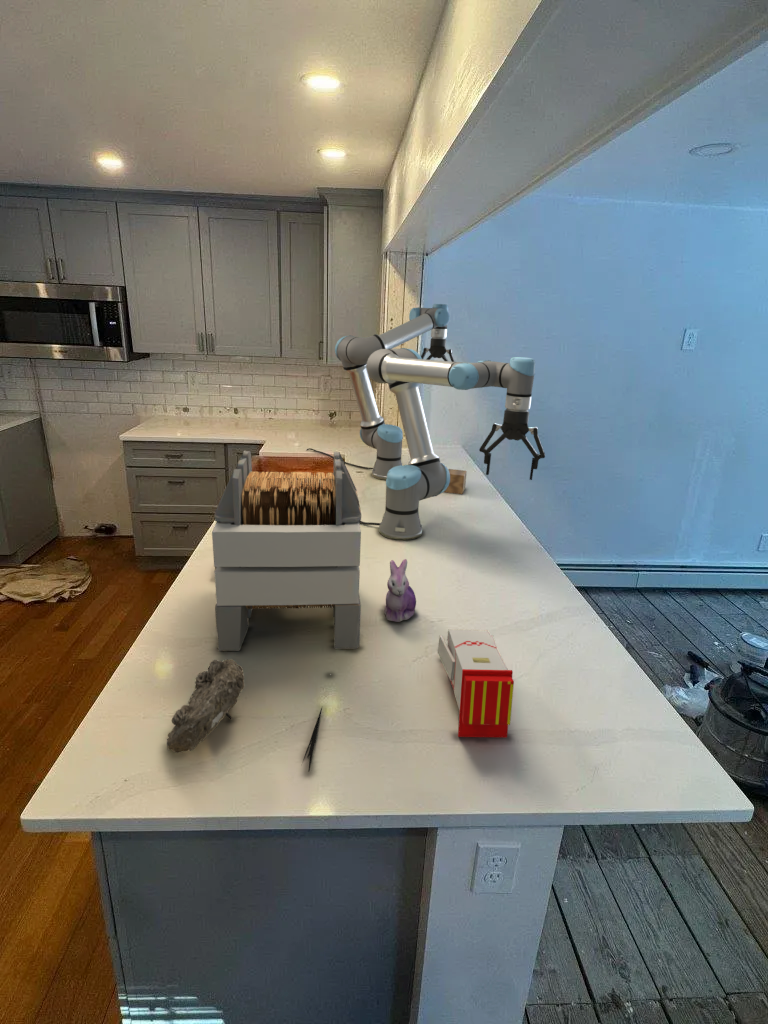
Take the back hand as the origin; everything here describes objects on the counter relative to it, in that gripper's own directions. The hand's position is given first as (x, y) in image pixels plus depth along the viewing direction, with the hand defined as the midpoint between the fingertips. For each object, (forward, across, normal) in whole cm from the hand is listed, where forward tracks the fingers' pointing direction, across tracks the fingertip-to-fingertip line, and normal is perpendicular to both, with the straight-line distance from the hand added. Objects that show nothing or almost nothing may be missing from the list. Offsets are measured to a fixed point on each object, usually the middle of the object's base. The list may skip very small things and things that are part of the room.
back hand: (435, 382), depth 280 cm
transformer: (+40, -1, -165) cm, 170 cm away
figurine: (+40, +25, -155) cm, 162 cm away
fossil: (+40, +2, -205) cm, 209 cm away
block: (+41, +20, -42) cm, 62 cm away
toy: (+40, +47, -181) cm, 191 cm away
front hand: (+15, +46, -102) cm, 113 cm away
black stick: (+40, +21, -199) cm, 204 cm away
